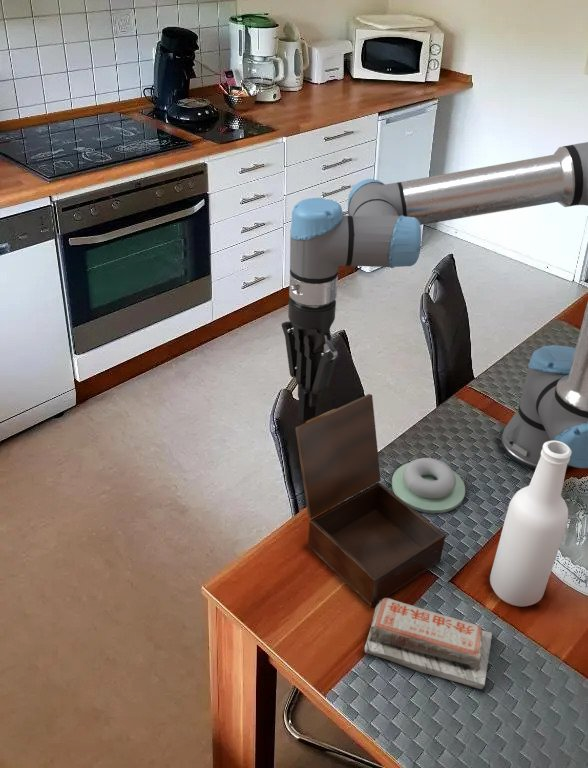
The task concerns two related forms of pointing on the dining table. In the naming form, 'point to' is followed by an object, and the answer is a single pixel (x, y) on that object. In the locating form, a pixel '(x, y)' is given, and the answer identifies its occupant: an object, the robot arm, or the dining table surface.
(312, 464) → the lid
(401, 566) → the wooden box
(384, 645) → the packaged product
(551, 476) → the alcohol
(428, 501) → the saucer
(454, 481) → the donut
